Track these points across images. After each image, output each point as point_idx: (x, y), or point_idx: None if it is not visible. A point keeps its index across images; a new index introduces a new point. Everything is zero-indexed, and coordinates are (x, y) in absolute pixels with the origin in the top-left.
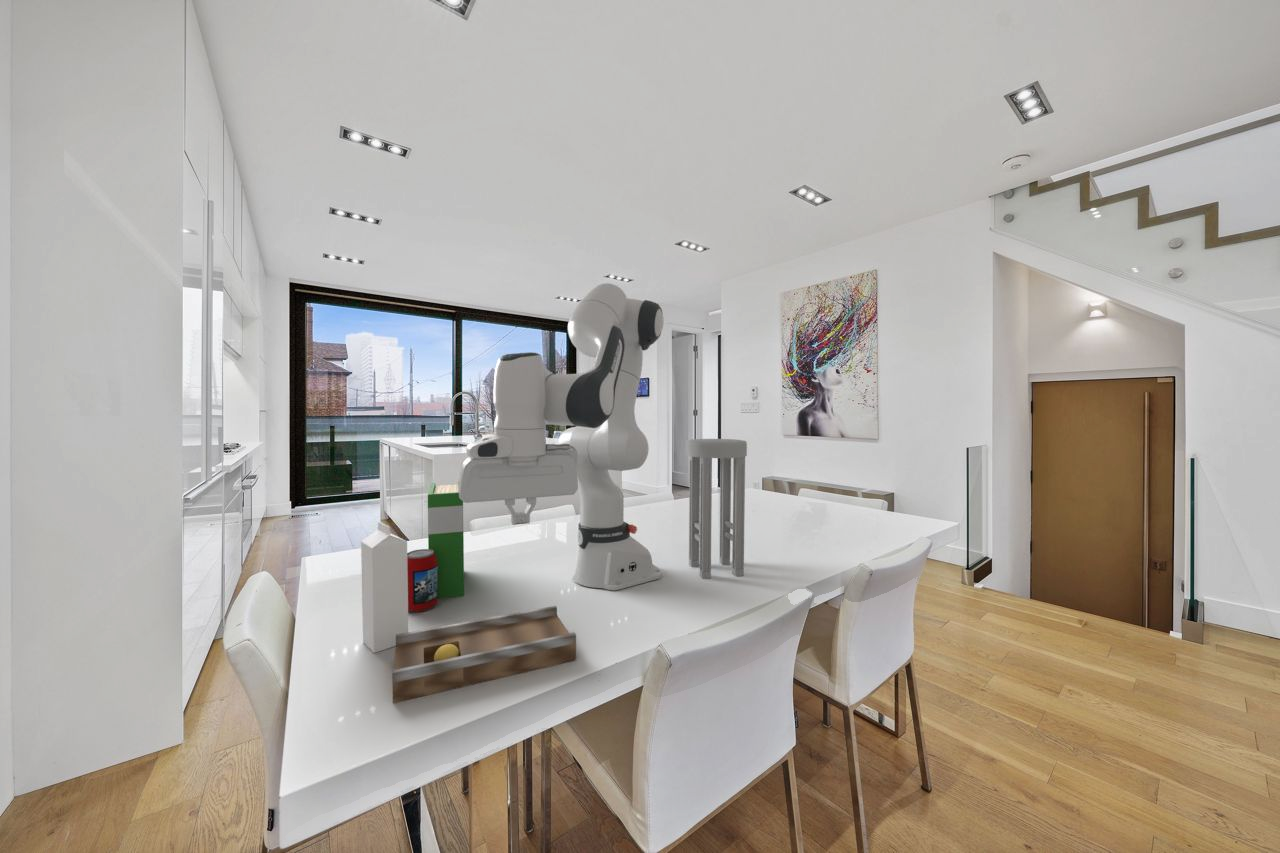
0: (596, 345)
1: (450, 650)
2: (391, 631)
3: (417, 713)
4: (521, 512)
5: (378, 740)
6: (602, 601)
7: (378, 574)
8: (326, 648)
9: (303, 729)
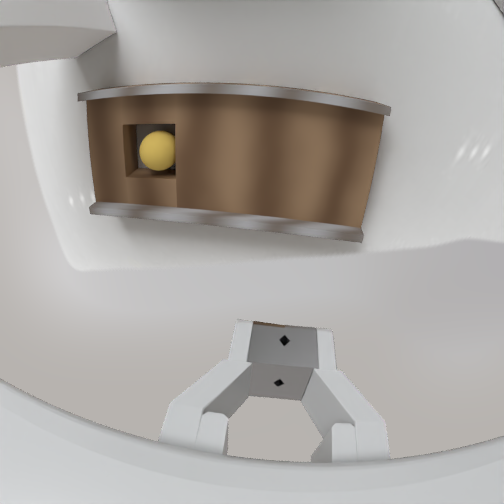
0: None
1: (158, 166)
2: (79, 45)
3: (137, 229)
4: (294, 368)
5: (110, 251)
6: (491, 65)
7: None
8: None
9: (49, 202)
